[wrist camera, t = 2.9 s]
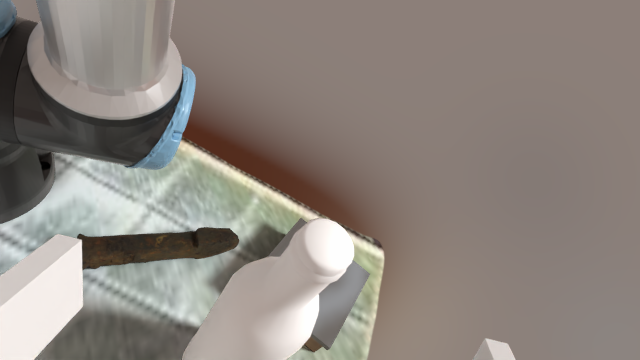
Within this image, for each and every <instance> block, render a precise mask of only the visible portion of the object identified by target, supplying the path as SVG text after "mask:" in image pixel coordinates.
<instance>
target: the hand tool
mask: <svg viewBox="0 0 640 360" xmlns="http://www.w3.org/2000/svg"><path fill="white" fill-rule="evenodd" d="M77 239H81V240H82V270H84V269H85V268H87V267H90V268H93V269H97V268H99V267H100V266H107V265H121V264H128V263H135V262H144V263H146V262H149V261H159V260H167V259H177V258H189V257H192V258H195V259H201V258H206V257H211V256H214V255H217V254H220V253H223V252H226V251H229V250H231V249H234V248H235V247H236V246H237V245H238V243H239V239H238V236H237V235H236V234H235V233H234V232H233V231H232V230H231V229H230V228H208V227H204V228H198V229H197V230H196V231H194V232H192V231H190V232H182V233H157V234H137V235H117V236H102V237H87V236H84V235H82V234H79V235H78V237H77Z"/></svg>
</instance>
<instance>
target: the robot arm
mask: <svg viewBox="0 0 640 360" xmlns="http://www.w3.org/2000/svg"><path fill="white" fill-rule="evenodd" d="M36 3H37V7H38V10H39V14H40V18H41V21H40V22H39V23H36V22H33V21H30V20H27V19H23V18H20V17H17V16H16V15H17V11H16V7H15V6H14V4H13V3H12V2H11V0H0V224H1V223H4V222H7V221H10V220H12V219H15V218H17V217H19V216H21V215H23V214H25V213H26V212H28V211H30V210H31V209H33V208H34V207H35V206H36V205H38V204H39V203H40V202H41V201H42V200H43V199H44V198H45V197H46V195H47V194H48V193H49V191H50V189H51V187H52V185H53V183H54V179H55V164H54V157H53V153H52V152H58V153H63V154H68V155H73V156H79V157H84V158H89V159H94V160H99V161H105V162H110V163H115V164H120V165H124V166H125V167H127V168H145V169H152V170H157V169H161V168H164V167H165V166H167V165H168V164H169V163H170V162H171V160H172V159H173V157H174V155H175V153H176V151H177V149H178V147H179V144H180V141H181V137H182V133H183V132H184V129H185V127H186V124H187V121H188V118H189V114H190V110H191V106H192V102H193V97H194V91H195V83H196V81H195V80H196V79H195V75H194V73H193V72H192V70H191V69H189V68H187V67H185V66H184V65H183V64H182V63H181V58H180V55H179V52H178V50H177V48H176V46H175V45H174V43H173V42H172V40H171V39H170V31H171V24H172V17H173V10H174V3H175V0H36ZM82 307H83V277H82V240H81V239H76V238H72V237H68V236H64V235H60V234H57V235H55V236H54V237H53V238H51V239H50V240H48V241H47V242H46V243H44V244H43V245H42V246H40V247H39V248H38V249H36V250H35V251H34V252H32V253H31V254H30V255H28V256H27V257H25V258H24V259H23V260H21V261H20V262H19V263H17V264H16V265H15V266H13V267H12V268H11V269H9V270H8V271H6V272H5V273H4V274H2V275H1V276H0V360H34V359H35V358H36V357H37V356H38V355H39V353H40V352H41V351H42V350H43V349H44V348H45V347H46V346H47V345H48V344H49V343H50V342H51V340H52V339H53V338H54V337H55V336H56V335H57V334H58V333H59V332H60V331H61V330H62V329H63V328H64V326H65V325H66V324H67V323H68V322H69V321H70V320H71V319H72V318H73V317H74V316H75V315H76V313H77V312H78V311H79V310H80V309H81V308H82ZM473 360H515V358H514V356H513V354H512V351H511V349H510V347H509V345H508V344H507V343H502V342H498V341H494V340H490V339H486V338H485V339H484V341H483V343H482V344H481V346H480V348H479V350H478V351H477V353H476V355H475V357H474V358H473Z"/></svg>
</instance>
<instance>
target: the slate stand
mask: <svg viewBox="0 0 640 360" xmlns="http://www.w3.org/2000/svg"><path fill="white" fill-rule="evenodd" d="M306 223H307V222H306V221H304V220H303V219H302V218H300V219H299V221H298V222H297V223H296V224H295V225H294V226H293V228H292V229H291V230H290V231H289V232H288V233H287V234H286V236H285V237H284V238H283V239H282V240H281V241H280V243H279V244H278V245H277V246H276V247H275V248H274V250H273V251H272V252H271V253H270V254H269V255H268V256H267V257H270V256H272V257H280V256H281V255H282V253H283V252H284V251H285V250H286V248H287V247H288V246H289V244H290V241H291V239H292V237H293V235H294V234H295V233H296V232H297V231H298V230H299V229H300V228H302V227H303V226H304V225H305V224H306ZM369 275H370V274H369V273H368V272H367V271H366V270H364V269H363V268H362V267H361V266H359V265H358V264H357V263H356V262H355V261H353V260H352V263H351V264H350V265H349V266H348V267H347V269H346V272H345V273H344V274H343V275H342V276H341V277H340V278H339V279H338V280H337V281H335V282H332V283H330V284H329V285H328V286H327V287H326V288H324V289H323V290H322V291H321V292H320V293H319V312H318V317H317V319H316V322H315V325H314V328H313V331H312V334H311V336H310V338H309V339H308V340H307V341H306V342H305V345H306V346H307V347H308V348H309V349H311V350H312V351H313V352H315V351H317V350H318V349H320V348H321V347H324V348H325V349H326V350H328V349H330V348H331V346H332V344H333V342H334V340H335V338H336V336H337V335H338V333H339V331H340V329H341V327H342V325H343V323H344V322H345V320H346V318H347V316H348V314H349V312H350V311H351V309H352V307H353V305H354V303H355V301H356V299H357V298H358V296H359V294H360V292H361V290H362V288H363V286H364V285H365V283H366V281H367V279H368V277H369Z"/></svg>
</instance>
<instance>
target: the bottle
mask: <svg viewBox="0 0 640 360" xmlns="http://www.w3.org/2000/svg"><path fill="white" fill-rule="evenodd" d="M353 257H354V245H353V243H352V240H351V238H350V236H349V235H348V233H347V232H346V231H345V229H344V228H342V227H341V226H340V225H339V224H337V223H336V222H333V221H331V220H329V219H323V218H317V219H313V220H310V221H309V222H308V223H306V224H305V225H304V226H303V227H302V228H300V229H299V230H298V231H297V232H296V233H295V234H294V235H293V237H292V239H291V241H290V244H289V246H288V247H287V248H286V250H285V251H284V252H283V253H282V255H281V256H280V257H272V256H270V257H266V258H263V259H260V260H257V261H253V262H250V263H248V264H246V265H244V266H243V267H242V268H241V269H239V270H238V271H237V272H235V273H234V274H233V275H232V277H231V278H230V280H229V282H228V283H227V285H226V286H225V288H224V290H223V291H222V293H221V294H220V296H219V298H218V299H217V301H216V302H215V304H214V306H213V307H212V309H211V310H210V312H209V314H208V315H207V317H206V318H205V320H204V322H203V323H202V325H201V326H200V328H199V330H198V331H197V333H196V334H195V336H193V338H192V339H191V341H190V342H189V344H188V346H187V347H186V349H185V351H184V353H183V356H182V360H286V359H287V358H288V357H290V356H291V355H292V354H294V353H295V352H297V351H298V350H299V349H300V348H301V347H302V346H303V345H304V344H305V342H306V341H307V340H308V339H309V338H310V336H311V334H312V331H313V328H314V325H315V322H316V319H317V317H318V312H319V293H320V292H321V291H322V290H323V289H324V288H326V287H327V286H328V285H329V284H330V283H332V282H335V281H337V280H338V279H339V278H340V277H341V276H342V275H343V274H344V273H345V272H346V269H347V267H348V266H349V265H350V264H351V263H352V260H353Z"/></svg>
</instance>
